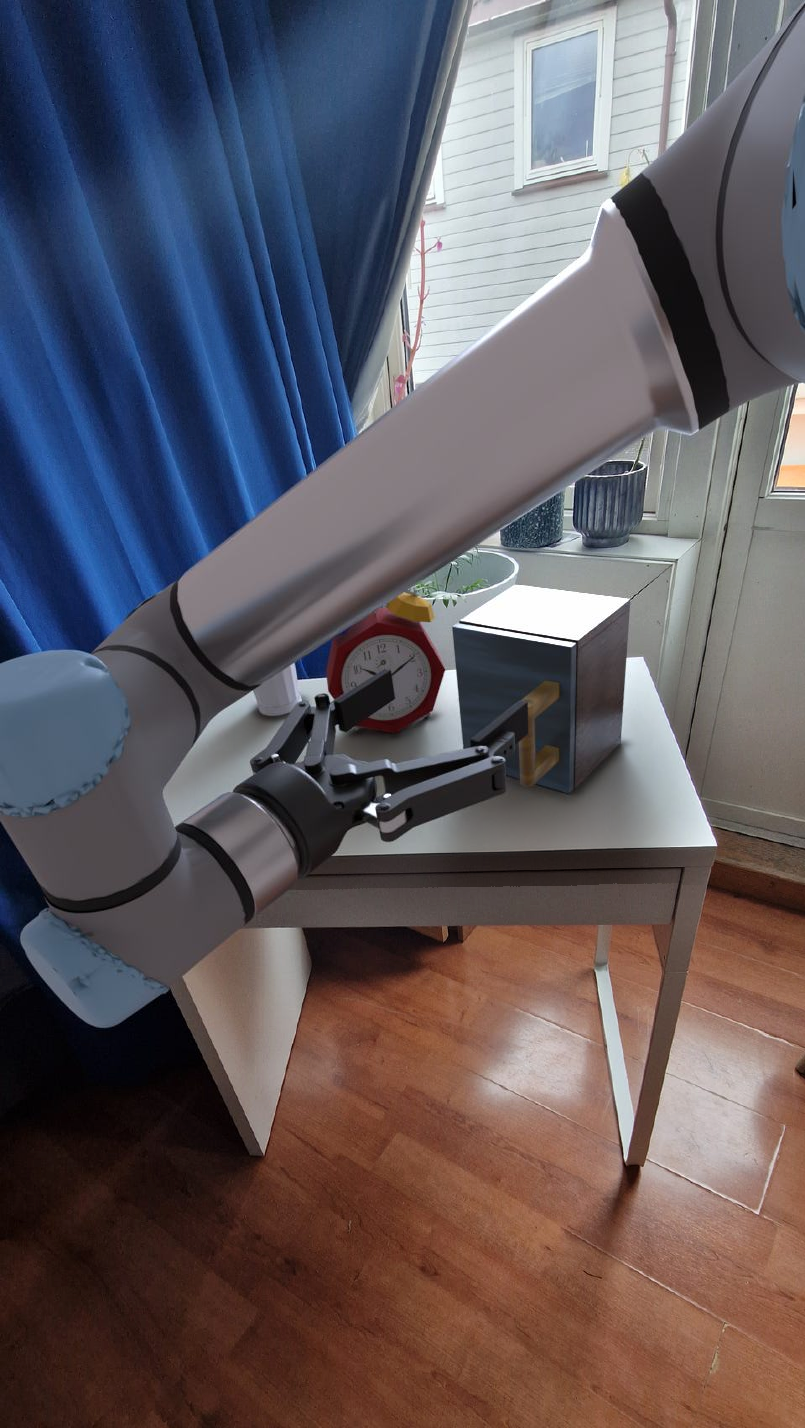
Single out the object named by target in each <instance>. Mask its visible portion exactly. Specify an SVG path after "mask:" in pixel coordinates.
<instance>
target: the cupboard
mask: <svg viewBox="0 0 805 1428" xmlns="http://www.w3.org/2000/svg"><path fill="white" fill-rule="evenodd" d="M630 612H631V598H623V597H614V596H606V595H601V594H600V595H598V594H590V593H585V592H584V593H582V592H576V591H566V590H559V589H552V588H551V589H550V588H542V587H535V586H529V585H519V584H514V585H513V586H510V588H507V589H506V590H505V591H503V592H501V593H500V594H498V595H497V596H496V597H494V598H493V599H491V600H489V601H488V602H486V603H484V604H483V605H481V606H480V607H478V608H477V609H475V610H474V611H472V612H470V613H469V614H467V615H465V616H463V618H461V619H459V621H458V623H459V624H465V625H471V626H477V627H483V628H489V629H495V630H501V631H507V632H513V633H519V634H524V635H530V636H536V637H542V638H548V639H554V640H560V641H566V642H572V643H576V692H575V740H574V788H573V790H575V789H577V787H579V785H581V784H582V783H583V781H585V779H587V777H589V776H590V774H592V772H594V771H595V769H597V768H598V766H599V765H600V764H602V763H603V762H604V760H605V759H606V758H607V757H608V756H609V755H611V753H613V752H614V751H615V749H616V748H618V746H619V745H620V744H621V743H622V733H623V732H622V730H623V717H624V716H623V715H624V701H625V688H626V686H625V684H626V672H627V671H626V669H627V658H628V657H627V656H628V643H629V642H628V641H629V627H630Z"/></svg>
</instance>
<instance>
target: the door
mask: <svg viewBox="0 0 805 1428" xmlns="http://www.w3.org/2000/svg"><path fill="white" fill-rule="evenodd" d="M451 629H452V641H453V652H454V662H455V673H456V685H457V694H458V705H459V717H460V728H461V739H462V749H466V748H471V745H470V739H471V738H473V737H474V736H475V735H476V734H478V733H479V732H480V731H481V730H483V729H484V728H485V727H486V726H488V725H489V724H490V723H491V722H493V721H494V720H495V719H496V718H498V717H499V716H500V715H501V714H503V713H504V712H505V711H506V710H508V709H509V708H510V707H511V706H513V705H514V704H515V703H516V702H518V701H519V700H520V701H525V702H528V734H527V735H526V736H525V737H524V738H523V739H522V740H520V741H519V742H518V743H517V744H516V745H515V751H514V754H512V755H511V756H510V757H509V758H508V759H506V760H505V766H506V776H508V777H512V778H516V779H518V780H519V783H520V785H521V786H523V787H532V786H534V785H539V786H542V787H545V788H549V789H552V790H556V791H559V792H562V793H566V794H570V793H572V792H573V791H574V789H573V788H574V740H575V692H576V643H572V642H566V641H560V640H554V639H548V638H542V637H536V636H530V635H524V634H519V633H513V632H507V631H501V630H495V629H489V628H483V627H477V626H471V625H465V624H459V622H457V623H455V624H454V625H452V626H451ZM471 764H472V763H471ZM471 764H470V765H471Z"/></svg>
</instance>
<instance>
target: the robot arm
mask: <svg viewBox="0 0 805 1428" xmlns="http://www.w3.org/2000/svg"><path fill="white" fill-rule="evenodd" d="M798 384H799V385H800V384H804V385H805V0H803V1H802V2H801V3H800V4H799V6H798V7H797V8H796V9H795V10H794V12H792V14H791V15H790V16H789V17H788V19H787V20H786V21H785V22H784V23H783V24H782V26H781V27H780V28H779V29H778V30H777V31H776V33H775V34H774V35H773V36H772V37H771V39H770V40H769V41H768V42H767V43H766V44H765V45H764V46H763V47H762V49H760V51H759V52H758V53H757V54H756V55H755V56H754V58H752V59H751V61H750V62H749V63H748V64H747V65H746V66H745V67H744V69H743V70H741V72H740V73H739V74H738V75H737V76H736V77H735V78H734V80H733V81H731V83H730V84H729V85H728V86H727V87H726V89H725V90H724V91H723V92H722V93H721V94H720V95H719V96H718V97H717V98H716V99H715V100H714V101H713V102H712V103H711V104H710V105H709V107H707V108H706V109H705V110H704V111H703V112H702V113H701V115H699V117H697V118H696V119H695V120H694V122H692V124H691V125H689V127H687V129H685V131H684V132H683V133H681V135H680V136H679V137H678V138H677V139H675V141H673V143H672V144H671V145H670V146H669V147H667V148H666V149H665V150H664V151H663V152H662V153H661V154H660V155H658V156H657V157H656V158H654V160H653V161H652V162H651V163H650V164H648V165H647V166H645V168H644V169H643V170H641V171H640V173H639V174H638V175H637V176H635V177H633V178H632V179H631V181H629V182H628V183H626V184H625V185H624V186H623V187H621V188H620V189H619V190H618V191H617V192H615V193H614V194H613V195H611V197H609V198H608V199H607V200H606V201H604V202H603V203H602V204H601V206H600V208H599V211H598V215H597V219H596V222H595V225H594V229H593V233H592V235H591V239H590V242H589V246H588V248H587V249H586V251H585V252H584V253H583V254H582V255H581V256H580V257H579V258H578V259H576V260H575V261H574V262H573V263H571V264H570V265H568V266H567V268H565V269H563V270H562V271H561V272H560V273H559V274H557V275H556V276H555V277H554V278H552V279H551V280H549V282H547V283H546V284H545V285H544V286H542V287H541V288H540V289H539V290H537V291H536V292H535V293H533V294H532V295H531V296H530V297H529V298H527V299H526V300H525V301H524V302H522V303H521V304H520V305H518V306H517V307H516V308H515V309H514V310H513V311H511V312H510V313H508V314H507V315H506V316H505V317H503V318H502V319H501V320H500V321H498V322H497V323H496V324H494V325H493V326H492V327H491V328H490V329H489V330H488V331H486V332H485V333H483V334H482V335H481V336H479V338H477V339H476V340H474V341H473V342H472V343H471V344H470V345H468V346H467V347H466V348H464V350H462V351H461V352H460V353H458V354H457V355H455V357H453V358H452V359H451V360H450V361H448V362H447V363H446V364H445V365H443V366H442V367H441V368H440V369H438V370H437V371H435V373H433V374H432V375H431V376H429V377H428V378H427V379H426V380H425V381H423V382H422V383H421V384H420V385H418V386H417V387H416V388H415V389H413V390H412V391H411V392H409V393H408V394H407V395H406V396H405V397H403V398H402V399H400V400H399V402H397V403H396V404H395V405H393V406H392V407H390V408H389V409H388V410H387V411H386V412H384V413H383V414H382V415H381V416H380V417H378V418H377V419H376V420H374V421H373V422H372V423H371V424H370V425H368V426H367V427H366V428H364V429H363V430H362V431H361V432H359V433H358V434H356V435H355V436H354V437H353V438H352V439H350V441H348V442H347V443H346V444H344V445H343V446H342V447H340V448H339V449H338V450H336V452H334V453H333V454H332V455H331V456H329V457H328V458H327V459H325V460H324V461H323V462H322V463H321V464H319V465H318V466H316V468H314V469H312V470H311V472H309V473H308V474H307V475H305V476H304V477H303V478H302V479H300V480H299V481H298V482H296V483H295V484H294V485H293V486H292V487H290V488H289V489H288V490H286V491H285V492H283V494H281V495H280V496H279V497H278V498H277V499H275V500H274V501H273V502H272V503H270V504H269V505H268V506H266V507H265V508H264V509H263V510H262V511H260V512H259V513H258V514H257V515H255V516H254V517H253V518H251V519H250V520H249V521H247V522H246V523H245V524H244V525H243V526H242V527H240V528H239V529H238V530H236V531H235V532H234V533H233V534H231V535H230V536H229V537H228V538H226V539H225V540H224V541H222V542H221V543H220V544H219V545H218V546H216V547H215V548H214V549H212V551H210V552H209V553H208V554H207V555H205V556H204V557H203V558H201V559H200V560H199V561H198V562H196V563H195V564H194V565H193V566H191V567H190V568H189V569H187V570H186V571H185V572H184V573H183V574H182V576H180V578H178V579H177V580H175V581H174V582H172V583H170V584H169V585H168V586H167V587H165V588H163V590H160V591H158V592H157V593H154V594H151V595H150V596H148V597H147V598H145V600H143V601H142V602H140V603H139V604H138V606H136V607H135V608H134V609H133V610H132V611H130V612H129V613H128V614H127V615H126V617H125V618H124V620H123V622H121V623H120V625H119V626H117V627H116V628H115V629H114V630H113V631H112V632H111V633H110V634H109V635H108V636H107V637H106V638H105V639H104V640H103V641H102V642H101V643H100V644H99V645H98V646H97V647H96V648H95V649H94V650H93V651H92V652H90V653H89V652H85V651H81V650H77V649H57V650H56V649H52V650H51V649H50V650H45V651H44V650H43V651H39V652H34V653H29V654H25V655H22V656H18V657H15V658H12V659H9V660H6V661H3V662H1V663H0V823H1V825H2V826H3V828H4V830H5V831H6V833H7V835H8V836H9V837H10V840H11V841H12V843H13V844H14V846H15V847H16V849H17V850H18V852H19V853H20V855H21V857H22V859H23V860H24V862H25V863H26V865H27V866H28V868H29V870H30V871H31V873H32V875H33V876H34V878H35V879H36V881H37V882H38V884H39V886H40V888H41V890H42V894H43V898H44V900H45V902H46V903H47V905H48V907H45V908H44V909H42V910H41V911H40V912H39V914H38V916H36V917H35V918H33V919H32V920H31V921H30V922H29V923H27V924H26V925H25V926H24V927H23V928H22V931H21V932H20V938H19V939H20V945H21V947H22V948H23V950H24V952H25V955H26V957H27V958H28V960H29V963H31V965H32V966H33V968H34V969H35V971H36V972H37V973H38V975H39V976H40V977H41V979H42V980H43V981H44V982H45V983H46V984H47V986H48V987H49V988H50V989H51V990H52V992H53V993H54V994H55V995H56V997H58V998H59V999H60V1001H61V1002H62V1003H64V1005H65V1006H66V1007H68V1009H69V1010H70V1011H71V1012H73V1013H74V1014H75V1015H76V1016H77V1017H78V1018H79V1019H80V1020H82V1021H83V1022H85V1023H86V1024H88V1025H90V1026H93V1027H95V1028H101V1029H108V1028H111V1027H116V1026H117V1025H119V1024H120V1023H122V1022H123V1021H125V1020H126V1019H127V1018H129V1017H130V1016H132V1015H133V1014H135V1013H136V1012H139V1010H141V1009H142V1008H144V1007H145V1006H147V1005H148V1004H150V1003H151V1002H152V1001H154V1000H155V999H156V998H158V997H159V996H161V995H164V994H167V992H169V991H170V989H171V987H172V986H174V985H175V983H177V982H178V981H179V980H181V978H182V977H184V976H185V975H186V974H187V973H188V972H190V971H191V970H192V969H193V968H194V967H195V966H196V965H198V964H199V963H200V962H201V961H203V960H204V959H205V958H206V957H207V956H209V955H210V954H212V953H213V951H214V950H216V949H217V948H219V946H221V945H222V944H224V942H225V941H227V940H228V939H229V938H230V937H232V936H233V935H234V934H235V933H237V932H238V931H239V930H240V929H241V928H242V927H244V926H246V925H248V923H250V921H252V919H254V918H256V916H258V915H259V914H261V913H262V912H263V911H264V910H265V909H266V908H268V907H269V906H270V905H271V904H273V903H274V902H275V901H277V900H278V899H279V898H281V896H283V895H284V894H285V893H287V892H288V891H289V890H290V889H291V888H293V887H294V886H295V885H296V883H297V881H298V880H302V879H304V878H306V877H307V876H309V875H310V874H311V873H312V872H313V871H315V870H316V869H317V868H318V867H319V866H321V865H322V864H323V863H325V862H326V861H328V860H329V858H331V857H332V856H333V855H335V853H336V852H337V851H338V850H339V848H340V846H341V844H342V843H343V840H344V838H345V836H346V834H347V833H348V832H349V831H350V830H352V829H354V828H356V827H359V826H362V825H364V824H369V825H371V826H373V827H374V828H377V829H378V830H379V831H378V832H379V837H380V840H381V841H382V842H385V843H391V842H394V841H396V840H398V839H400V837H402V836H403V835H405V834H406V833H408V832H409V831H411V830H413V829H414V828H416V827H419V826H421V825H424V824H427V823H429V822H432V821H435V820H438V819H439V818H440V819H441V818H443V817H445V816H448V815H450V814H454V813H456V812H459V811H461V810H465V809H466V808H469V807H472V806H475V805H477V804H480V803H482V802H485V801H488V800H491V799H493V798H496V797H498V796H501V795H504V794H505V793H506V792H507V775H506V766H505V760H506V759H508V758H509V757H510V756H511V755H512V754H514V751H515V745H516V744H517V743H518V742H519V741H520V740H522V739H523V738H524V737H525V736H526V735H527V734H528V702H525V701H520V700H519V701H518V702H516V703H515V704H514V705H513V706H511V707H510V708H509V709H508V710H506V711H505V712H504V713H503V714H501V715H500V716H499V717H498V718H496V719H495V720H494V721H493V722H491V723H490V724H489V725H488V726H486V727H485V728H484V729H483V730H481V731H480V732H479V733H478V734H476V735H475V736H474V737H473V738H471V739H470V745H471V748H466V749H463V748H462V749H457V750H453V751H447V752H442V753H438V754H432V755H429V756H423V757H419V758H414V759H410V760H405V761H404V760H403V761H399V762H394V763H393V762H392V761H390V759H386V758H384V759H379V760H374V761H369V762H367V761H364V760H359V759H353V758H351V757H350V756H348V755H347V754H344V753H340V752H337V754H334V753H335V744H336V736H337V735H336V734H337V729H336V726H337V727H338V730H339V731H340V732H343V733H348V732H349V731H350V730H352V729H354V727H355V726H356V725H358V724H359V723H361V722H362V721H364V720H365V719H367V718H368V717H370V716H371V715H372V714H374V713H375V712H377V711H378V710H380V709H381V708H383V707H384V706H386V705H387V704H389V703H390V702H392V701H393V700H395V694H394V687H393V680H392V673H391V670H387V669H383V670H382V671H380V672H379V673H377V674H375V675H374V676H372V677H371V678H369V679H368V680H366V681H364V682H363V683H361V684H360V685H358V686H357V687H355V688H353V689H352V690H350V691H348V692H346V693H344V694H343V695H342V696H340V697H339V698H336V699H335V700H334V699H333V700H332V701H331V699H330V694H329V693H325V692H324V693H322V692H321V693H318V694H315V696H314V697H313V699H314V704H315V706H311V703H310V701H308V700H302V701H300V702H298V703H297V704H296V705H295V706H294V708H293V709H292V711H291V712H290V713H288V715H287V716H286V718H285V719H284V721H283V722H282V724H281V725H280V727H279V728H278V730H277V731H276V733H275V734H274V736H273V737H272V738H271V740H270V741H269V743H268V744H267V746H266V747H265V748H263V750H262V751H260V752H259V753H257V754H256V755H255V756H253V757H252V758H250V760H249V764H250V768H251V771H252V774H253V775H251V776H249V777H248V778H246V779H245V780H243V781H242V782H240V783H239V784H237V785H236V786H235V787H234V788H233V789H232V791H227V792H225V793H223V794H220V795H219V796H218V797H216V798H215V799H214V800H211V802H209V803H207V804H206V805H204V806H203V807H202V808H200V809H199V810H197V811H196V812H194V813H193V814H191V815H190V816H188V817H187V818H185V819H184V820H182V821H181V822H179V823H178V824H177V825H175V824H174V822H173V818H172V816H171V813H170V811H169V808H168V806H167V804H166V801H165V799H164V793H163V792H164V790H165V788H166V786H167V785H168V784H169V782H170V781H171V779H172V777H173V776H174V775H175V773H176V772H177V770H178V769H179V767H180V766H181V764H182V763H183V761H184V760H185V758H186V757H187V755H188V754H189V752H190V751H191V749H192V748H193V747H194V746H195V744H196V742H197V741H198V740H199V738H200V736H201V735H202V734H203V732H204V730H205V729H206V727H207V726H208V725H209V723H210V722H211V721H212V720H214V718H215V717H216V716H217V715H219V713H221V712H223V711H224V710H225V709H227V708H228V707H230V706H232V705H233V704H234V703H237V701H239V700H241V699H243V698H244V697H245V696H247V695H248V694H250V693H251V692H252V691H253V690H254V689H256V688H257V687H259V686H260V685H261V684H263V683H264V682H265V681H267V680H268V679H270V678H272V677H273V676H275V675H276V674H278V673H279V672H281V671H282V670H284V669H286V668H287V667H289V666H290V665H292V664H293V663H295V664H296V663H297V662H298V661H300V660H301V659H303V658H304V657H306V656H307V655H309V654H310V653H312V652H313V651H316V650H317V649H319V648H320V647H321V646H323V645H325V644H327V642H329V641H332V640H333V639H332V638H334V637H335V636H337V635H338V634H340V633H342V632H343V631H345V630H346V629H348V628H349V627H351V626H352V625H354V624H356V623H357V622H359V621H360V620H362V619H363V618H365V617H366V616H368V615H370V614H371V613H373V612H374V611H376V610H377V609H379V608H380V607H382V608H383V607H384V606H386V605H387V603H389V602H390V601H391V600H393V599H394V598H396V597H397V596H399V595H401V594H402V593H405V591H407V590H411V588H413V587H415V586H416V585H418V584H420V583H421V582H423V581H424V580H426V579H427V578H429V577H430V576H432V575H433V574H436V572H438V571H440V570H441V569H443V568H444V567H446V566H447V565H449V564H451V563H452V562H454V561H455V560H457V559H458V558H460V557H461V556H463V555H464V554H466V553H467V552H469V551H471V550H472V549H474V548H475V547H477V546H478V545H480V544H481V543H483V542H484V541H486V540H488V539H489V538H491V537H492V536H494V535H495V534H497V533H498V532H500V531H502V530H503V529H505V528H506V527H508V526H510V525H511V524H513V523H514V522H516V521H518V520H519V519H521V518H522V517H523V516H525V515H527V514H528V513H530V512H531V511H533V510H534V509H536V508H537V507H539V506H541V505H542V504H544V503H545V502H547V501H548V500H550V499H551V498H554V496H556V495H558V494H559V493H561V492H562V491H564V490H565V489H567V488H569V487H570V486H572V485H573V484H575V483H576V482H578V481H579V480H581V479H583V478H584V477H586V476H587V475H588V474H591V473H592V472H593V471H595V470H596V469H599V468H600V467H601V466H603V465H605V464H606V463H608V462H609V461H610V460H613V459H614V458H615V457H616V456H619V455H620V454H622V453H623V452H625V451H626V450H628V449H629V448H631V447H633V446H634V445H636V444H637V443H639V442H640V441H642V440H643V439H645V438H647V436H649V435H651V434H653V433H654V432H656V431H669V432H674V433H678V434H682V435H686V436H692V435H694V434H695V433H698V432H699V431H700V430H702V429H704V428H705V427H707V426H708V425H710V424H712V423H713V422H715V421H717V420H718V419H719V418H721V417H722V416H724V415H726V414H728V413H730V412H732V411H734V410H735V409H737V408H739V407H742V406H743V405H745V404H746V403H749V402H751V401H753V400H755V399H758V398H759V397H762V396H764V395H767V394H770V393H774V392H776V391H779V390H782V389H785V388H788V387H790V386H795V385H798ZM331 639H332V640H331ZM305 748H306V752H305V755H304V756H303V760H301V761H299V762H297V761H298V759H299V758H300V756H301V755H302V753H303V751H304V749H305ZM471 763H472V764H471ZM376 777H382V783H383V788H384V793H383V794H382V795H379V796H378V795H377V793H378V784H377V779H376Z"/></svg>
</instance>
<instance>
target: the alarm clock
mask: <svg viewBox="0 0 805 1428" xmlns="http://www.w3.org/2000/svg"><path fill="white" fill-rule="evenodd" d="M435 618H436V616H435V613H434V610H433V607H432V604H431V602H429V601H428V600H427V599H425V598H424V597H421V596H419V594H418V589H417V588H414V589H413V591H411V590H410V589H408V590H407V591H405V592H404V593H402V594H401V595H399V596H397V597H396V598H394V599H393V600H391V601H390V602H388V603H387V604H385V605H384V607H383V606H382V607H380V608H379V609H377V610H376V611H374V612H373V613H371V614H370V615H368V616H366V617H365V618H363V619H362V620H360V621H359V622H357V623H356V624H354V625H352V626H351V627H349V628H348V629H346V630H345V631H343V632H342V633H340V634H338V635H337V636H335V637H334V638H332V639H331V640H330V641H331V645H330V650H329V655H328V661H327V666H326V671H325V675H326V684H327V691H328V692H327V693H328V694H329V696H331V697H332V699H333V700H335V699H336V698H339V697H340V696H342V695H343V694H344V693H346V692H348V691H350V690H352V689H353V688H355V687H357V686H358V685H360V684H361V683H363V682H364V681H366V680H368V679H369V678H371V677H372V676H374V675H375V674H377V673H379V672H380V671H382V670H383V669H387V670H391V673H392V680H393V687H394V694H395V700H393V701H392V702H390V703H389V704H387V705H386V706H384V707H383V708H381V709H380V710H378V711H377V712H375V713H374V714H372V715H371V716H370V717H368V718H367V719H365V720H364V721H362V722H361V723H359V724H358V725H356V726H355V727H353V729H354V731H355V730H356V731H359V729H360V728H364V729H370V730H376V731H379V732H387V733H392V734H396V733H398V732H400V731H402V730H403V729H405V728H406V727H408V726H410V725H411V724H413V723H416V722H417V721H418V720H421V718H423V717H427V718H429V717H430V716H431V712H433V711H434V709H435V708H434V707H435V705H436V702H437V698H438V695H439V692H440V688H441V686H442V682H443V678H444V676H445V672H446V668H445V665H444V663H443V661H442V659H441V657H440V654H439V652H438V650H437V649H436V647H435V645H434V643H433V641H432V639H431V638H430V636H429V635H428V633H427V631H426V629H425V628H424V626H423V624H422V623H432V621H433V620H434V619H435Z"/></svg>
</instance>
